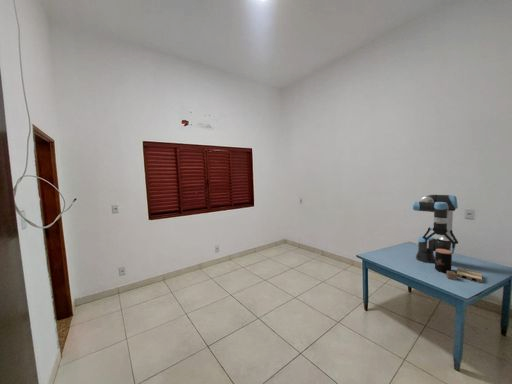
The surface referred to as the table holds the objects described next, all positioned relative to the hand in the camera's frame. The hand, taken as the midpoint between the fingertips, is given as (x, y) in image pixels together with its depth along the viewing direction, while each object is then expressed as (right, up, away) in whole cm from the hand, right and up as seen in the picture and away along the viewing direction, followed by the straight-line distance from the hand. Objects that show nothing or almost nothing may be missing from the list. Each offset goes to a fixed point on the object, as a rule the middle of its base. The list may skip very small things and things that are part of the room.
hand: (439, 249), depth 158 cm
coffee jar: (+24, -25, +24) cm, 42 cm away
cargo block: (+20, -26, +11) cm, 35 cm away
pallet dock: (+35, -25, +12) cm, 45 cm away
